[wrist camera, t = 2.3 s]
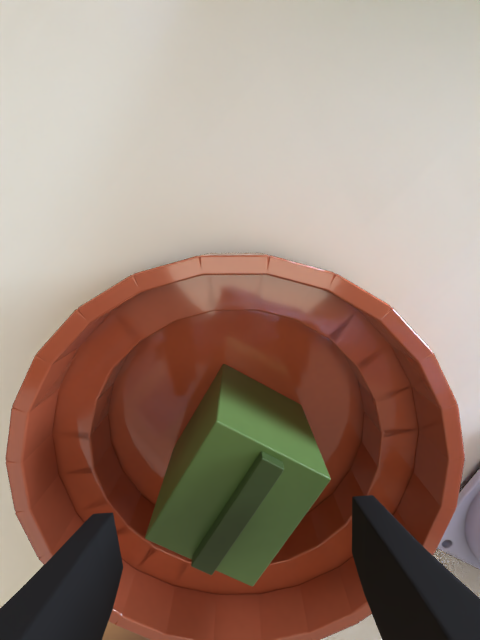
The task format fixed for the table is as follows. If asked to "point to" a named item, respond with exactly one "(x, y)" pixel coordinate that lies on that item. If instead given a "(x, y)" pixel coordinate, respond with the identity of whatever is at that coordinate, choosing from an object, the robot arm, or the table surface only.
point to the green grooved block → (238, 479)
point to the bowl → (182, 401)
